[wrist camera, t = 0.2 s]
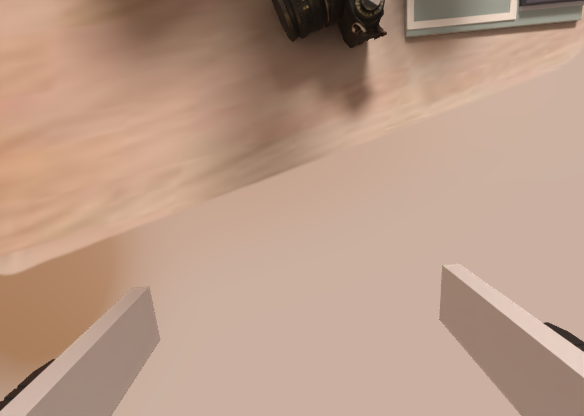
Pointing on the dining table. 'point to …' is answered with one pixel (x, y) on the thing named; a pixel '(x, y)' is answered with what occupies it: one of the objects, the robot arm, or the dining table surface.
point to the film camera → (332, 18)
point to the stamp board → (477, 16)
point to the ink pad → (547, 4)
